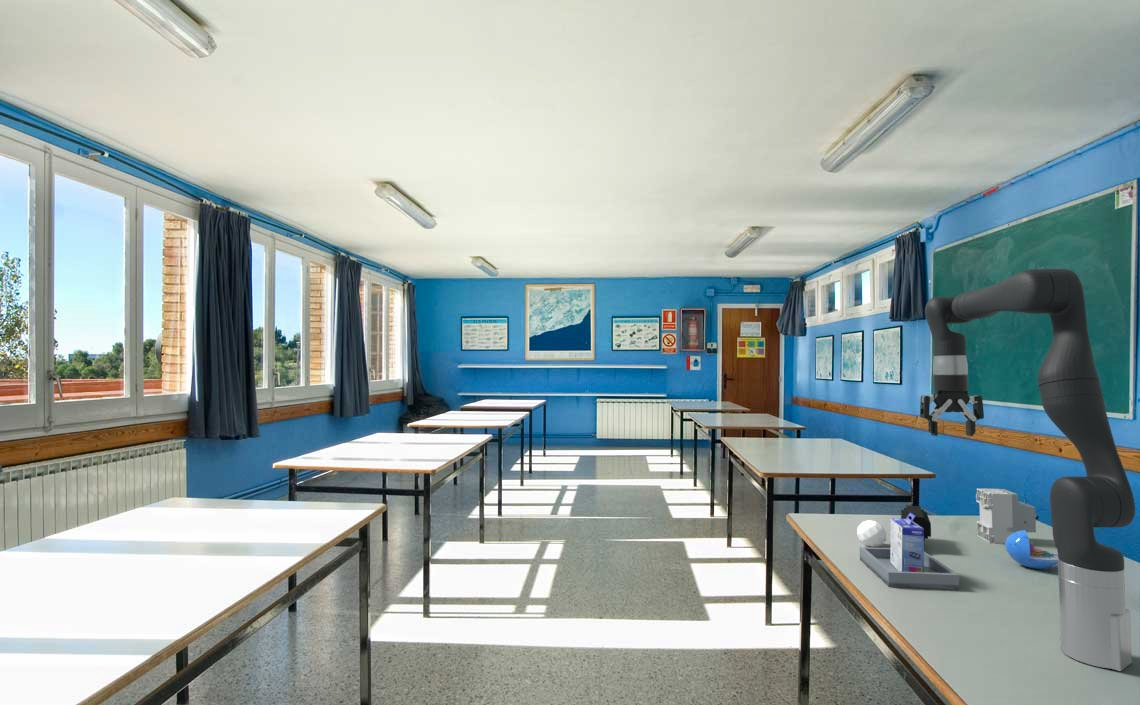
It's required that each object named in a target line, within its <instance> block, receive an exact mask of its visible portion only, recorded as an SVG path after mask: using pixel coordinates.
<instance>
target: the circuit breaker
mask: <svg viewBox="0 0 1140 705" xmlns="http://www.w3.org/2000/svg"><path fill="white" fill-rule="evenodd" d="M975 500H976V501H975V502H976V503H978V504H979V520H976V531H977V534H976V536H977V537H979V538H980V539H982V540H984V541H985V542H986V543H989V544H991V543H992V544H1004V545H1005V542H1006V539H1007V538H1008V536H1009V535H1011V534H1012V533H1014V532H1017V531H1021V530H1025V531H1026V532H1027V533H1036V532H1037V527H1036V526H1037V524H1036V522H1037V521H1036V520H1039V515H1037V514H1036V507H1035V506H1033V505H1030V504H1027V503H1025V502H1022V501H1019V494H1018V493H1017V492H1013V491H1010V490H1007V489H1005V488H976V494H975Z"/></svg>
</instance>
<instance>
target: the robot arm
mask: <svg viewBox="0 0 1140 705" xmlns="http://www.w3.org/2000/svg"><path fill="white" fill-rule="evenodd" d="M1086 310H1087V309H1086V302H1085V292H1084V288H1083V285H1082V281H1081V279H1080V278H1079V276H1078V275H1077V273H1075V271H1073V270H1071V269H1067V268H1032V269H1026V270H1022V271H1020V272H1017V273H1015V274H1013V275H1011V276H1009V277H1007V278H1005V279H1003V280H1000V281H999V282H996V283H994V284H992V285H989V286H986V287H983V288H977V289H973V290H969V291H965V292H963V293H960V294H958V295H957V296H934V297H932V298H930V299H928V300H927V302H926V304H925V308H924V314H925V315H924V316H925V319H926V320H925V321H926V322H927V324H928V328H929V331H930V335H931V337H932V341H933V363H932V373H933V374H932V375H933V378H932V379H933V392H934V394H933V395H932V396H931V395H923V394H922V395H921V396H920V405H919V416H920V418H921V419H924V420H926V421H928V422H927V424H928V428H927V429H928V433H930V435H931V436H933V437H936V436H938V435H939V434H938V431H939V430H938V429H939V428H938V421H937V420H938V419H939V418H940V416H941V415H943V414H944V413H960V414H961V415H962V416H963V417H964V418H965V419H966V421H965V435H966V436H968V437H974V435H975V434H976V422H977V421H979V420H983V419H984V418H985V414H984V413H985V412H984V403H983V397H982V395H978V394H977V395H969V393H968V392H969V374H968V373H969V367H968V359H967V348H966V347H967V346H966V344H967V343H966V336H965V335H964V334H963V333H961V332H957V331H956V332H955V331H953V330H950V328H949V326H948V325H949V324H964V323H966V324H967V323H969V322H972V321H974V320H981V319H986V318H990V317H993V316H995V315H997V314H998V313H999V312H1014V313H1015V312H1016V313H1025V314H1031V315H1032V314H1033V315H1035V314H1038V315H1039V314H1048V315H1049V317H1050V320H1051V321H1050V322H1051V326H1052V328H1051V329H1052V342H1051V345H1050V347H1049V350H1048V351H1047V353H1046V355H1045V357H1044V359H1043V361H1042V362H1041V364H1040V367H1039V370H1038V374H1037V385H1038V390H1039V395H1040V400H1041V403H1042V404H1041V405H1042V408H1043V410H1044V412H1045V414H1046V415H1047V417H1048V418H1049V420H1051V421H1052V423H1053V424H1054V425H1055V426H1056V427H1057V428H1058V429H1059V430H1060V432H1062V434H1063V435H1064V436H1065V437H1066V438H1067V439H1068V440H1069V441H1070V442H1071V443H1072V444H1073V446H1074V447H1075V449H1076V450H1077V452H1078V454H1079V456H1080V458H1081V459H1082V463H1083V466H1084V469H1085V473H1086V476H1062V477H1058V478H1056V479H1055V480H1054V482H1053V483H1052V485H1051V488H1050V492H1049V506H1050V507H1049V508H1050V516H1051V517H1050V518H1051V525H1052V527H1051V528H1052V537H1053V542H1054V544H1055V547H1056V550H1057V554H1058V564H1057V570H1058V571H1057V574H1058V602H1059V603H1058V604H1059V605H1058V607H1059V633H1060V634H1059V635H1060V636H1059V640H1060V651H1061V652H1062V653H1063V654H1065V655H1066V656H1068V657H1069V658H1072V659H1073V660H1075V661H1078V662H1081V663H1084V664H1087V665H1089V666H1093V667H1098V668H1105V669H1112V670H1115V671H1118V672H1122V671H1124V670H1125V669H1126V668H1127V667H1128V666H1130V665H1131V664H1132V663H1133V660H1132V658H1133V657H1132V655H1133V654H1132V631H1131V630H1132V629H1131V610H1130V609H1128V608H1126V606H1127V605H1126V604H1127V603H1126V583H1125V582H1126V581H1125V580H1126V579H1125V558H1124V555H1123V552H1121V551H1119V550H1118V549H1116V548H1114V547H1112V546H1108V545H1105V544H1103V543H1099V542H1098V541H1097V539H1096V536H1095V535H1096V534H1095V529H1094V528H1108V529H1109V528H1112V529H1113V528H1116V529H1117V528H1124V527H1128V526H1129V525H1130V524H1131V523H1133V521H1134V518H1135V515H1136V502H1135V496H1134V493H1133V490H1132V487H1131V484H1130V481H1129V479H1128V476H1127V474H1126V472H1125V468H1124V465H1123V463H1122V459H1121V458H1120V457H1121V456H1120V455H1119V452H1118V449H1117V446H1116V443H1115V440H1114V435H1113V433H1112V429H1111V425H1110V422H1109V419H1108V418H1109V417H1108V413H1107V410H1106V406H1105V399H1104V394H1103V391H1102V386H1101V382H1100V378H1099V374H1098V371H1097V368H1096V365H1095V364H1096V363H1095V360H1094V357H1093V351H1092V346H1091V340H1090V337H1089V336H1090V335H1089V330H1088V319H1087V312H1086ZM932 403H934V404H935V406H934V407H933V408H932V410H931V412H930V408H931V407H930V406H931V404H932ZM969 403H970V404H972V410H973V411H972V410H971V409H970V408H969V407H968V406H967V405H968V404H969Z"/></svg>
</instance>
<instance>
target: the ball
mask: <svg viewBox="0 0 1140 705" xmlns="http://www.w3.org/2000/svg"><path fill="white" fill-rule="evenodd" d="M856 531H857V532H856V535H857V537H858V539H859V541H860V542H861V543H862V544H864V545H866V546H867V547H869V548H879V547H881V546H882V545H883V544H884V543H885V542H886V540H887V532H886V530H885V528H884V526H883V524H880V523H879V522H877V521H875V520H871V519H868V520H864V521H862V522H861V523H860V524H859V525H858V526H857V530H856Z"/></svg>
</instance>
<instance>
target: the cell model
mask: <svg viewBox="0 0 1140 705" xmlns="http://www.w3.org/2000/svg"><path fill="white" fill-rule="evenodd" d="M1004 547H1005V549H1006V552H1007V554H1008V555H1009V556H1010V558H1011V559H1013V561H1015V563H1016V562H1017V563H1018V564H1019V565H1021V566H1024V567H1027V568H1029V569H1036V570H1037V569H1039V570H1042V569H1048V568H1052V567H1054V566H1056V565H1058V553H1056V552H1053V551H1049V550H1043V549H1042V548H1037V547H1035V545H1034V541H1031V540H1030V539H1029V536H1028V532H1026V531H1025V530H1021V531H1017V532H1014V533H1012V534H1011V535H1009V536H1008V538H1007V539H1006V542H1005V544H1004Z"/></svg>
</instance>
